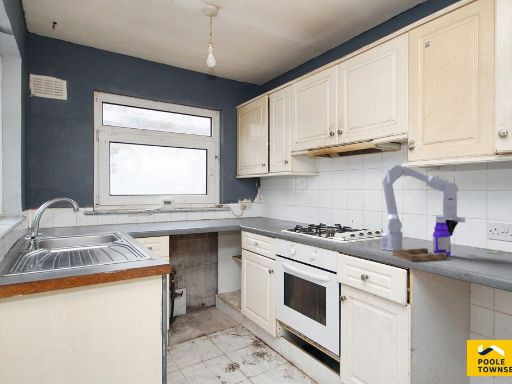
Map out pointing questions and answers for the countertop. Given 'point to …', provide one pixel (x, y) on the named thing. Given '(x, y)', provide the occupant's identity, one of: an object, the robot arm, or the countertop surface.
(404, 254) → the cradle
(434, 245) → the bottle
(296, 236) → the countertop surface
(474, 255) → the countertop surface
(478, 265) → the countertop surface
